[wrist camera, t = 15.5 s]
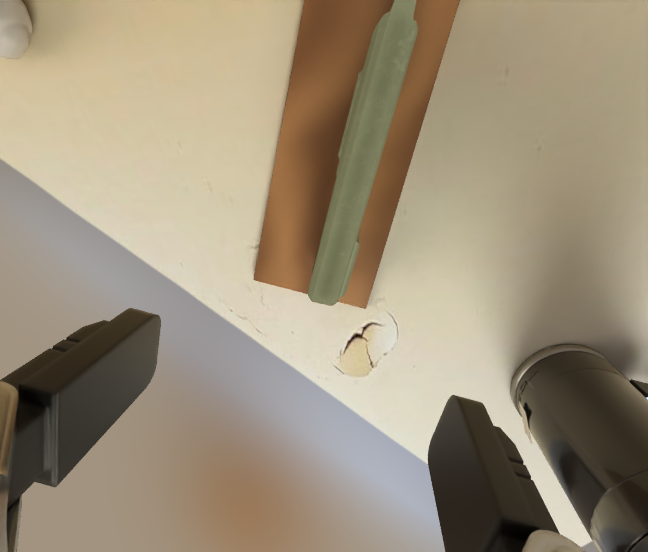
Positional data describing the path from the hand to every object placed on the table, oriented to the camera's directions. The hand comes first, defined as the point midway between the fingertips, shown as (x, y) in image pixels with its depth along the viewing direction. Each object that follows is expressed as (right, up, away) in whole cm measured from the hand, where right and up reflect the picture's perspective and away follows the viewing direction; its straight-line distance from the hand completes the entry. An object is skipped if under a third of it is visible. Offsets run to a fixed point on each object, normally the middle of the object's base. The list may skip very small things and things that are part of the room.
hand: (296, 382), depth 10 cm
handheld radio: (+4, +14, +21) cm, 26 cm away
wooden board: (+3, +15, +21) cm, 26 cm away
